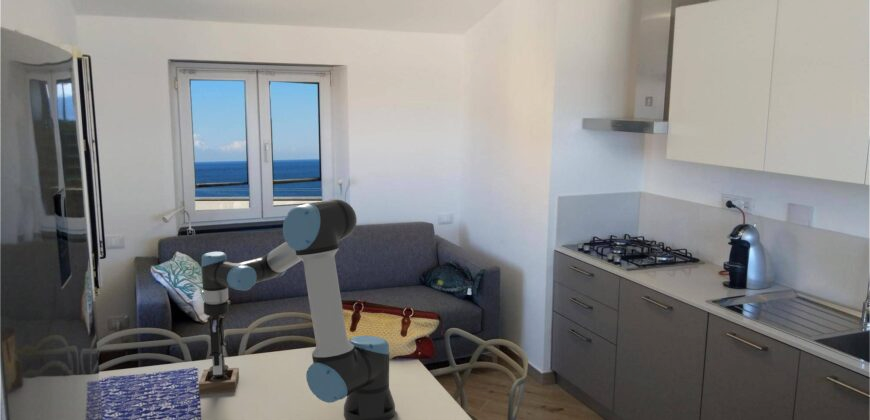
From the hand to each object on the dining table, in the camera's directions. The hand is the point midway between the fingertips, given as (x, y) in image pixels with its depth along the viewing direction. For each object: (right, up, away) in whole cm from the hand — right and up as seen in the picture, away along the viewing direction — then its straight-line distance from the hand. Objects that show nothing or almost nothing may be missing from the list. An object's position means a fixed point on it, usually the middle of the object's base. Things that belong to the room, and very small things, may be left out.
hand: (219, 369), depth 212 cm
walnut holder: (0, -5, +1) cm, 5 cm away
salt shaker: (0, -3, +1) cm, 3 cm away
